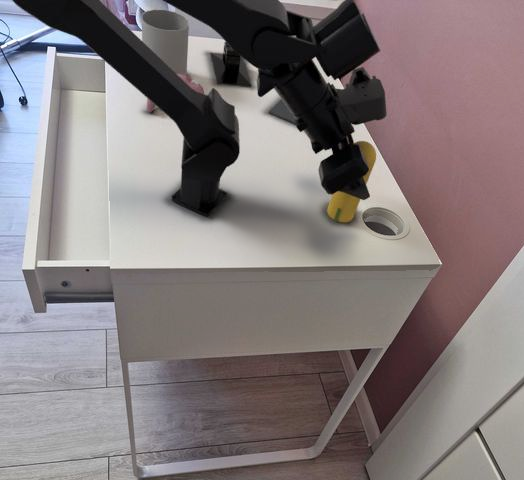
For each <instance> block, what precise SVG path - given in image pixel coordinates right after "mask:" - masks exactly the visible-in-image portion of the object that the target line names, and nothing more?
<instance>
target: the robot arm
mask: <svg viewBox="0 0 524 480" xmlns="http://www.w3.org/2000/svg"><path fill="white" fill-rule="evenodd" d="M11 1H12V3H14V5H16V6H17V7H18V8H19V9H21V10H22V11H24V12H25V13H27V14H29V15H30V16H31V17H33V18H34V19H36V20H38V21H39V22H40V23H42V24H44V25H46V26H47V27H48V28H51V29H53V30H56V31H59V32H62V33H65V34H67V35H70V36H73V37H75V38H77V39H78V40H80V41H81V42H82V43H84V44H85V45H86V46H87V47H88V48H89V49H90V50H92V52H94V53H95V54H96V55H97V56H98V57H99V58H101V59H102V60H103V62H105V63H106V64H108V66H110V67H111V68H112V69H113V70H114V71H116V73H118V74H119V75H120V76H122V78H124V79H125V80H126V81H127V82H128V83H130V84H131V86H133V87H134V88H135V89H136V90H137V91H138V92H139V93H141V94H142V95H143V96H144V97H145V98H146V99H147V98H148V99H149V100H150V101H151V102H152V103H154V104H155V105H156V106H155V107H157V108H158V109H159V110H160V111H162V112H163V114H165V116H167V117H168V118H169V119H170V120H172V121H173V123H175V125H176V126H177V128H178V130H179V132H180V133H181V135H182V137H183V139H182V151H181V152H182V153H181V164H180V169H181V174H180V175H181V176H180V177H181V178H180V188H179V189H178V190H177V191H175V193H174V194H172V195H171V201H172V202H174V203H175V204H178V205H180V206H183V207H185V208H187V209H189V210H191V211H194V212H196V213H197V214H200V215H201V216H204V217H209V216H210V215H211V214H212V213H213V212H214V211H215V210H216V209H217V208H218V207H219V206H220V204H221V203H222V202H223V201H224V200H225V199H226V198H227V197H228V192H226V191H225V190H222V189H220V185H221V178H222V176H223V174H224V173H225V171H226V169H227V168H229V167H230V166H232V165H234V164H235V162H236V161H237V160H238V159H239V156H240V151H241V149H240V148H241V147H240V144H241V143H240V123H239V118H238V116H237V115H236V109H235V108H236V107H235V105H234V104H230V103H229V102H227V101H226V100H225V99H224V98H223V96H222V95H221V94H220V93H219V91H218V90H217V89H216V88H215V87H212V88H211V90H210V91H209V93H208V94H205V93H204V94H202V93H199V92H196V91H195V90H193V89H192V88H191V87H190V86H189V85H188V84H187V83H185V82H184V81H183V80H182V79H181V78H180V77H179V76H178V75H177V74H176V73H175V72H174V71H173V70H172V69H171V68H170V67H169V66H168V65H167V64H166V63H164V62H163V61H162V60H161V59H160V58H159V57H158V56H157V55H156V54H155V53H154V52H153V51H152V50H151V49H150V48H149V47H148V46H147V45H146V44H145V43H143V42H142V39H141V38H139V37H138V36H137V35H136V34H135V33H134V32H133V31H132V29H130V28H129V27H128V26H127V25H126V24H125V23H124V22H123V21H121V19H119V18H118V17H117V16H116V15H115V14H114V12H112V11H111V10H110V9H109V8H108V7H107V6H106V5H105V4H104V3H103V2H102V1H101V0H11ZM162 1H163V2H164V3H166V4H168V5H170V6H172V7H174V8H175V9H177V10H179V11H181V12H182V13H184V14H186V15H187V16H190V17H192V18H194V19H195V20H196V21H199V22H201V23H203V24H204V25H206V26H208V27H209V28H211V29H212V30H213V31H215V32H216V33H217V34H218V35H219V36H220V37H221V39H223V41H224V42H227V44H228V45H229V46H230V47H231V48H232V49H233V50H234V51H235V52H237V53H238V54H239V55H240V56H242V57H243V58H244V60H245V61H246V62H247V63H249V64H250V65H251V66H253V67H254V68H256V69H257V79H256V90H257V96H258V97H259V98H262V97H265V96H266V95H267V94H268V93H269V92H271V91H272V90H274V91H275V92H276V94H277V95H278V96H279V98H280V100H281V99H282V101H283V102H284V103H285V105H286V106H287V108H288V109H289V111H290V112H291V113H292V115H293V116H294V118H295V122H296V125H295V127H296V129H297V130H298V131H299V133H302V132H304V133H305V135H306V136H307V138H308V139H309V141H310V144H311V150H312V151H313V152H314V154H315V155H318V154H319V153H320V152H322V151H325V152H326V151H328V150H331V152H332V153H331V154H330V155H329V156H327V157H325V158H324V159H323V160H321V161H320V162H319V166H318V170H317V171H318V176H319V181H320V186H321V187H322V188H323V190H324V191H325V193H326V194H327V195H331V196H332V194H334V193H336V192H337V191H339V192H343V193H346V194H349V195H351V196H354V197H356V198H359V199H360V200H362V201H366V200H368V199H369V198H370V197H371V195H370V192H369V189H368V186H367V184H366V183H365V180H364V177H363V176H365V175H366V174H367V173H368V171H369V167H368V163H367V160H366V156H365V155H364V153H363V151H362V149H361V147H360V146H359V145H357V144H354V143H355V141H354V138H353V135H352V134H353V133H355V132H356V130H355V127H354V126H359V125H362V124H366V123H369V122H372V121H381V120H383V119H385V118H386V117H387V102H386V100H387V99H386V92H385V88H384V85H383V83H382V81H381V80H380V78H377V77H376V75H372V76H371V75H370V74H369V73H368V71H367V70H366V69H365V68H364V67H363V66H362V67H360V66H361V65H362V64H364V63H366V62H367V61H368V60H370V59H371V58H373V57H374V56H375V55H377V54H379V53H380V52H381V48H380V46H379V43H378V40H377V39H376V37H375V35H374V33H373V30H372V27H371V26H370V23H369V22H368V19H367V18H366V16H365V14H364V12H363V13H362V12H361V9H360V8H359V6H358V4H357V2H356V1H355V0H343V1H341V3H340V4H339V5H338V7H337V8H336V9H335V10H333V11H332V12H331V13H329V14H328V15H327V16H326V17H324V18H323V19H321V20H320V21H319V22H318V23H316V24H315V25H314V24H313V23H314V22H313V20H312V18H310V17H307V16H305V15H302V14H299V13H296V12H292V11H290V10H287V9H286V7H285V5H284V4H283V3H282V2H281V1H280V0H162ZM314 59H316V60H317V62H318V64H319V66H320V67H321V69H322V71H323V72H324V74H325V75H326V77H327V78H330V77H331V78H332V79H333V81H337V80H338V79H339V80H342V79H343V78H344V77H346V76H347V75H348V74H350V73H351V75H350V78H349V81H348V83H346V84H345V88H343V89H342V88H336V86H335V85H334V84H333V83H332V84H331V83H330V82H327V81H326V79H325V78H324V76H323V75H322V73H321V71H320V69H319V68H318V66H317V65H316V63H315V61H314ZM371 77H372V78H371Z"/></svg>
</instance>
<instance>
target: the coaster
mask: <svg viewBox="0 0 524 480" xmlns="http://www.w3.org/2000/svg"><path fill="white" fill-rule="evenodd" d="M268 114H270V115H272V116H274V117H276V118H278V119H282V120H284V121H286V122H288V123H291V124H293V125H295V126H296V122H295V118H294V116H293V115H292V113H291V112H290V111H289V109H288V108H287V106H286V105H285V103H284V102H283V101H282V99H281V98H280V100H279V101H278V102H277V103H276V104H274V106H273V107H271V108H270V109H269V110H268Z"/></svg>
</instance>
